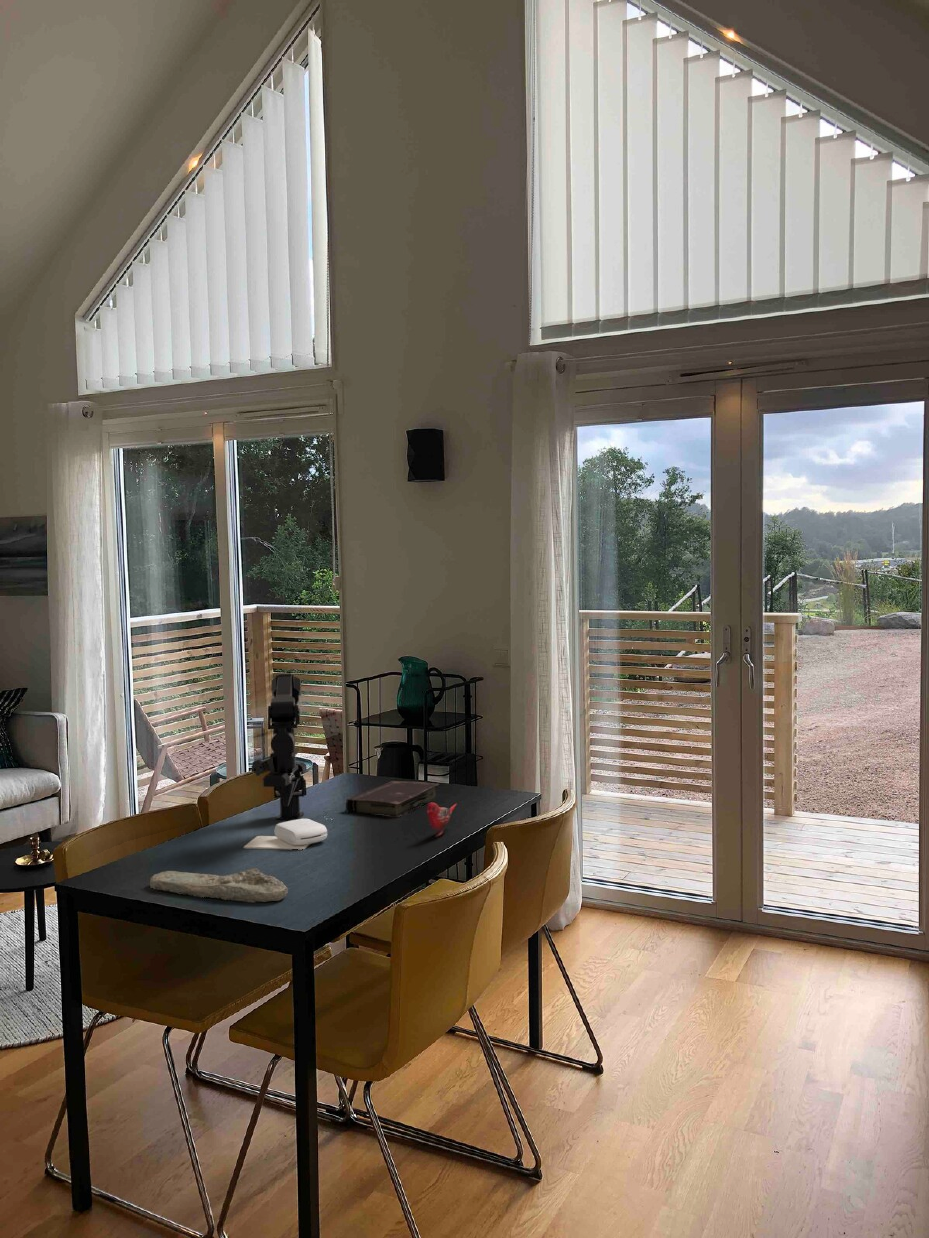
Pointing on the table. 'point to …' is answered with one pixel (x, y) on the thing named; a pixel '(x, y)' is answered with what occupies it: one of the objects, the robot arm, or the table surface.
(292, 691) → the robot arm
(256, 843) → the mat
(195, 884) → the elongated rock
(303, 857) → the table surface
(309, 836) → the photo printer
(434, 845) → the table surface
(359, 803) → the diary
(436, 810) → the decorative bird figurine
